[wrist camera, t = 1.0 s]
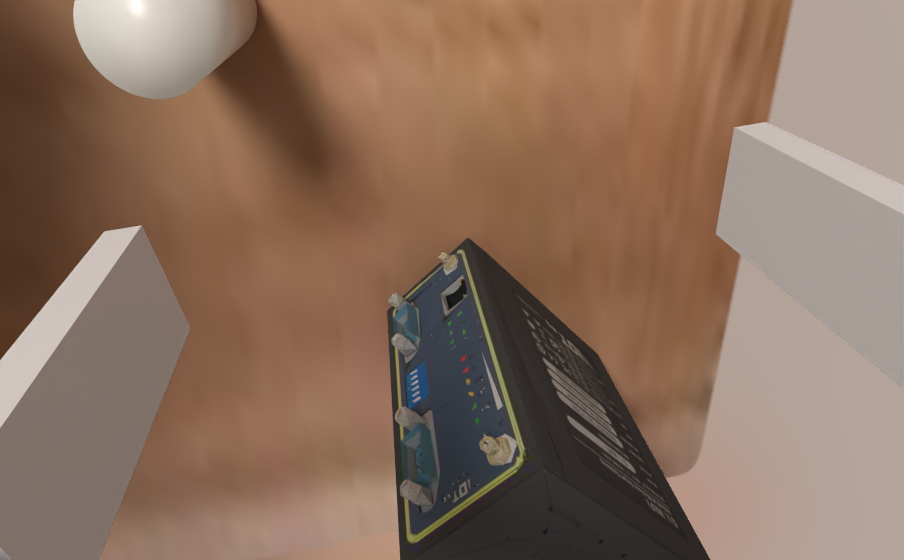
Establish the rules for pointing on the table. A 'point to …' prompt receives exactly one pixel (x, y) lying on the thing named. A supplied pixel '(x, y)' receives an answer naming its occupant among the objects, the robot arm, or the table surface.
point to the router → (515, 432)
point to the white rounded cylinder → (161, 40)
